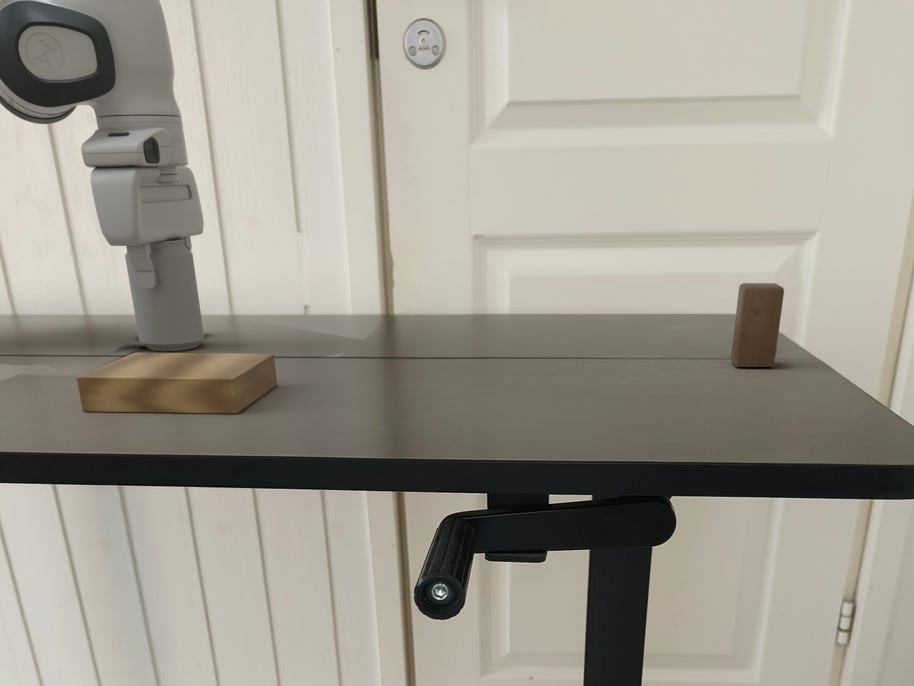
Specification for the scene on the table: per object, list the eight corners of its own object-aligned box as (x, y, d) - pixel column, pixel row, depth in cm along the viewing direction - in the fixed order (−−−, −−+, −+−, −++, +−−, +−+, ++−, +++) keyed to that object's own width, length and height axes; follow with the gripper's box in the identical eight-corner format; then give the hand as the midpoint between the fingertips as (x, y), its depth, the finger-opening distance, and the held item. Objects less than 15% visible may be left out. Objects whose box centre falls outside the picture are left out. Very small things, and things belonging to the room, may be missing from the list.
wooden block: (735, 368, 95) (744, 287, 92) (730, 361, 99) (739, 282, 95) (774, 369, 95) (785, 287, 91) (767, 361, 99) (778, 282, 95)
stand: (82, 411, 80) (75, 376, 79) (140, 383, 91) (134, 352, 89) (237, 414, 79) (233, 378, 78) (277, 385, 90) (274, 353, 88)
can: (161, 354, 105) (143, 241, 100) (128, 347, 110) (109, 238, 104) (217, 346, 110) (203, 237, 104) (184, 339, 114) (168, 235, 109)
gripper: (155, 150, 109) (175, 274, 116) (71, 147, 91) (101, 293, 98) (206, 149, 109) (224, 273, 115) (132, 145, 91) (157, 293, 97)
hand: (167, 283), depth 106 cm, fingers open, 8 cm apart
